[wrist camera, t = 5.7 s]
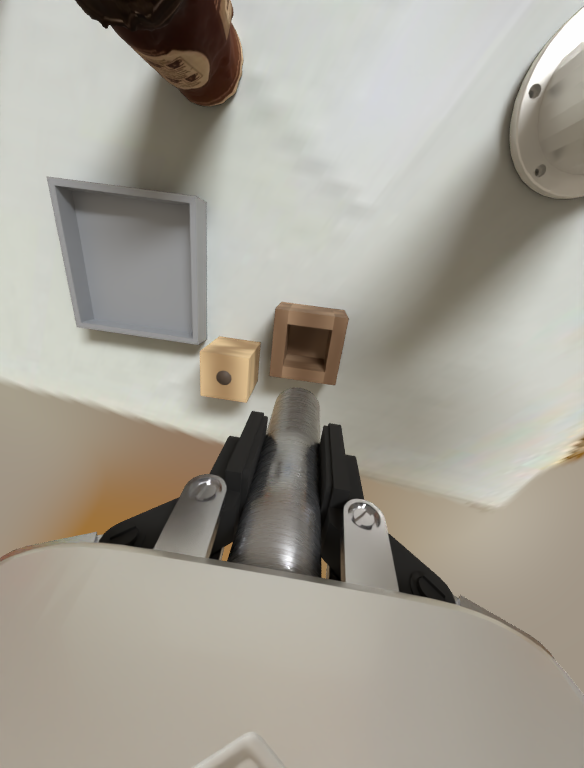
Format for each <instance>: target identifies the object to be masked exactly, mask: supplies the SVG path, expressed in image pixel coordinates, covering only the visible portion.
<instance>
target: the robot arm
mask: <svg viewBox="0 0 584 768" xmlns="http://www.w3.org/2000/svg"><path fill="white" fill-rule="evenodd" d="M528 94H529V95H528ZM529 96H530V98H529ZM509 140H510V150H511V156H512V159H513V163H514V166H515V169H516V171H517V172H518V174H519V176H520V177H521V179H522V180H523V181H524V182H525V183H526V184H527V185H528V186H529V187H530V188H531V189H532V190H534V191H536V192H537V193H539V194H541V195H543V196H547V197H551V198H555V199H572V198H577V197H583V196H584V6H583V7H582V8H581V9H580V10H579V11H578V12H576V13H575V14H574V15H573V16H572V17H571V18H570V19H569V20H568V21H567V22H566V23H565V24H564V25H563V26H562V27H561V28H560V29H559V30H558V31H557V32H556V33H555V34H554V35H553V36H552V38H551V39H550V40H549V41H548V42H547V43H546V45H545V46H544V47H543V49H542V50H541V52H540V53H539V54H538V56H537V57H536V59H535V60H534V61H533V63H532V65H531V67H530V69H529V71H528V73H527V74H526V76H525V78H524V80H523V82H522V85H521V87H520V90H519V93H518V95H517V98H516V100H515V104H514V108H513V113H512V117H511V123H510V136H509ZM534 173H535V174H534ZM267 421H268V417H267V416H264V413H261V412H255V411H252V412H251V414H250V416H249V419H248V421H247V423H246V425H245V428H244V430H243V432H242V434H241V437H240V438H239V437H233V436H229V437H228V439H227V441H226V443H225V445H224V447H223V449H222V451H221V453H220V454H219V456H218V458H217V460H216V462H215V464H214V466H213V468H212V470H211V472H210V474H204V475H199V476H197V477H195V478H193V479H191V480H190V481H189V482H188V483H187V484H186V486H185V488H184V489H183V491H182V493H181V495H180V497H179V498H177V499H174V500H172V501H169V502H167V503H165V504H162V505H160V506H158V507H156V508H153V509H151V510H148V511H146V512H144V513H142V514H139V515H137V516H135V517H132V518H130V519H127V520H125V521H123V522H120V523H118V524H116V525H115V526H113V527H111V528H110V529H109V530H108V531H106V533H104V534H103V535H98V536H97V532H94V533H90V534H84V535H79V536H75V537H70V538H64V539H60V540H54V541H49V542H44V543H40V544H35V545H30V546H25V547H22V548H19V549H16V550H13V551H11V552H9V553H8V554H6V555H4V556H2V557H1V558H0V768H584V695H583V693H582V692H581V691H580V689H579V688H578V687H577V685H576V684H575V683H574V681H573V680H572V679H571V678H570V676H569V675H568V674H567V673H566V672H565V670H564V669H563V668H562V667H561V666H560V665H559V664H558V663H557V662H556V660H555V659H554V657H553V656H552V655H551V653H550V652H549V651H548V650H547V649H546V648H545V647H544V646H543V645H542V644H541V643H540V642H539V641H537V640H536V639H535V638H533V637H532V636H531V635H529V634H527V633H525V632H524V631H522V630H520V629H518V628H517V627H515V626H513V625H512V624H510V623H508V622H506V621H505V620H503V619H501V618H499V617H498V616H496V615H494V614H493V613H491V612H489V611H487V610H486V609H484V608H482V607H480V606H479V605H477V604H475V603H473V602H472V601H470V600H468V599H467V598H465V597H463V596H461V595H460V596H459V598H457V597H455V596H454V595H453V594H452V592H451V591H450V589H449V588H448V586H447V585H446V584H445V583H444V582H443V581H442V580H441V578H440V577H438V576H437V575H436V574H435V573H434V572H433V571H431V570H430V569H429V568H428V567H427V566H426V565H425V564H423V563H422V562H421V561H420V560H419V559H418V558H416V557H415V556H414V555H413V554H412V553H411V552H410V551H408V550H407V549H406V548H405V547H404V546H403V545H401V544H400V543H399V542H398V541H397V540H395V538H393V537H392V536H391V535H390V534H388V531H387V526H386V521H385V518H384V515H383V513H382V512H381V511H380V509H379V508H378V507H377V506H375V505H374V504H372V503H370V502H369V501H366V500H364V496H363V491H362V486H361V481H360V476H359V470H358V465H357V460H356V457H355V456H350V455H345V449H344V442H343V435H342V428H341V425H337V424H331V423H329V424H328V426H324V427H323V431H322V436H321V441H320V513H321V558H323V560H324V561H325V562H326V563H327V573H326V579H325V578H319V577H313V576H308V575H302V574H296V573H290V572H285V571H279V570H273V569H267V568H262V567H256V566H250V565H244V564H238V563H233V562H227V561H221V559H222V555H223V551H224V547H225V546H226V545H228V544H230V543H231V542H233V540H234V537H235V534H236V530H237V527H238V524H239V521H240V517H241V514H242V511H243V507H244V504H245V502H246V500H247V496H248V493H249V490H250V486H251V483H252V480H253V476H254V473H255V470H256V466H257V463H258V460H259V456H260V453H261V450H262V446H263V443H264V440H265V437H266V430H267Z"/></svg>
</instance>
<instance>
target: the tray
mask: <svg viewBox="0 0 584 768" xmlns="http://www.w3.org/2000/svg"><path fill="white" fill-rule="evenodd" d="M47 181H48V186H49V191H50V196H51V201H52V206H53V211H54V216H55V221H56V226H57V231H58V236H59V241H60V246H61V251H62V256H63V261H64V265H65V270H66V275H67V280H68V285H69V290H70V295H71V300H72V305H73V310H74V315H75V320H76V325H77V327H80V328H87V329H94V330H101V331H107V332H114V333H121V334H128V335H135V336H142V337H148V338H155V339H162V340H169V341H176V342H183V343H189V344H196V345H199V344H200V343H202V342H203V341H205V340H206V339H207V241H206V201H204V200H202V199H200V198H198V197H197V196H191V195H184V194H176V193H169V192H161V191H153V190H146V189H138V188H130V187H123V186H115V185H107V184H100V183H92V182H85V181H77V180H69V179H62V178H54V177H47Z"/></svg>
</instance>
